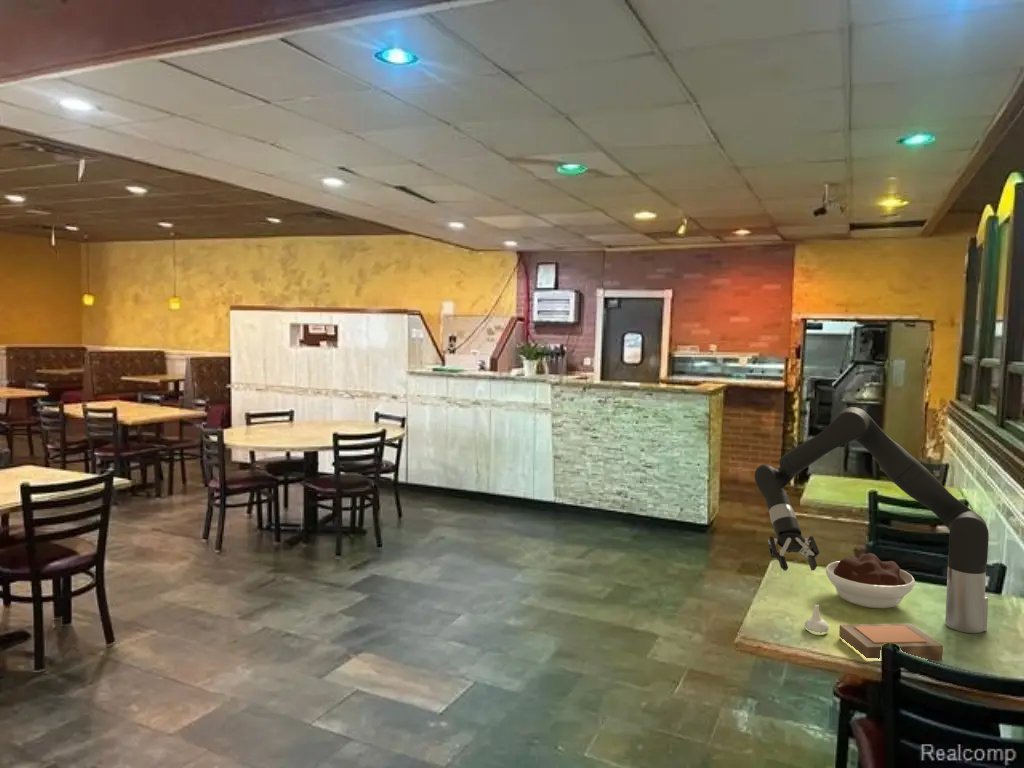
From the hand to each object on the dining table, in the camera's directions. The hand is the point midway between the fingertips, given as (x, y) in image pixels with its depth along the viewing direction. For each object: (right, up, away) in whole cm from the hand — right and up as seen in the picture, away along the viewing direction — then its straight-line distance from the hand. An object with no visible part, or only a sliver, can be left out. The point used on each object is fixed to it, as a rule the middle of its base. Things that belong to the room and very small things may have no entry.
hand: (800, 569), depth 208 cm
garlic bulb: (0, -15, -10) cm, 18 cm away
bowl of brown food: (+27, -14, +12) cm, 32 cm away
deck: (+15, -16, -22) cm, 31 cm away
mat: (+15, -12, -22) cm, 29 cm away
